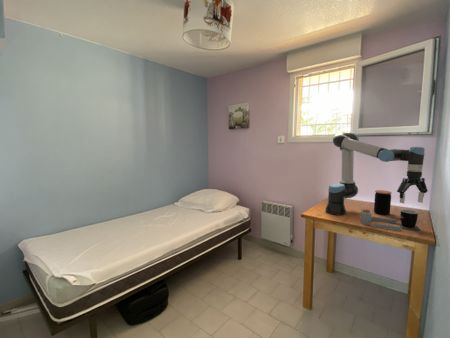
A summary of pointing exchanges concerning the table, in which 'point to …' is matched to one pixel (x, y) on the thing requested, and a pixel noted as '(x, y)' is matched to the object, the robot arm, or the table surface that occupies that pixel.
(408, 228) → the pad
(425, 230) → the table surface
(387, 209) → the coffee jar
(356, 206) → the table surface
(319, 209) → the table surface
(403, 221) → the mug
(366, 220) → the housing
